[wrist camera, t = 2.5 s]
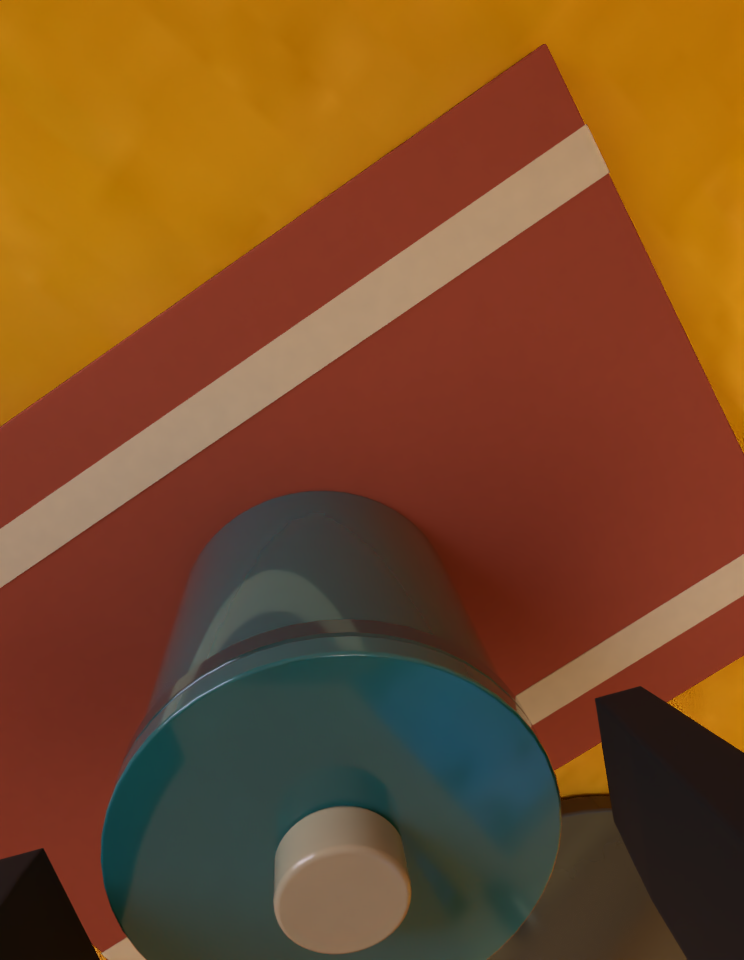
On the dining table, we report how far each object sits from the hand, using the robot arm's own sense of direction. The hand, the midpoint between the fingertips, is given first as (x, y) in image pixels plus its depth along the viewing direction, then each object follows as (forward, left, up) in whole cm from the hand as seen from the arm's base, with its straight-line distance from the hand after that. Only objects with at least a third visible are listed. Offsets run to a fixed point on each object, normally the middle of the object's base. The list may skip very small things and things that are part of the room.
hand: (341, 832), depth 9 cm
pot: (0, 0, -6) cm, 6 cm away
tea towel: (0, 0, -6) cm, 6 cm away
